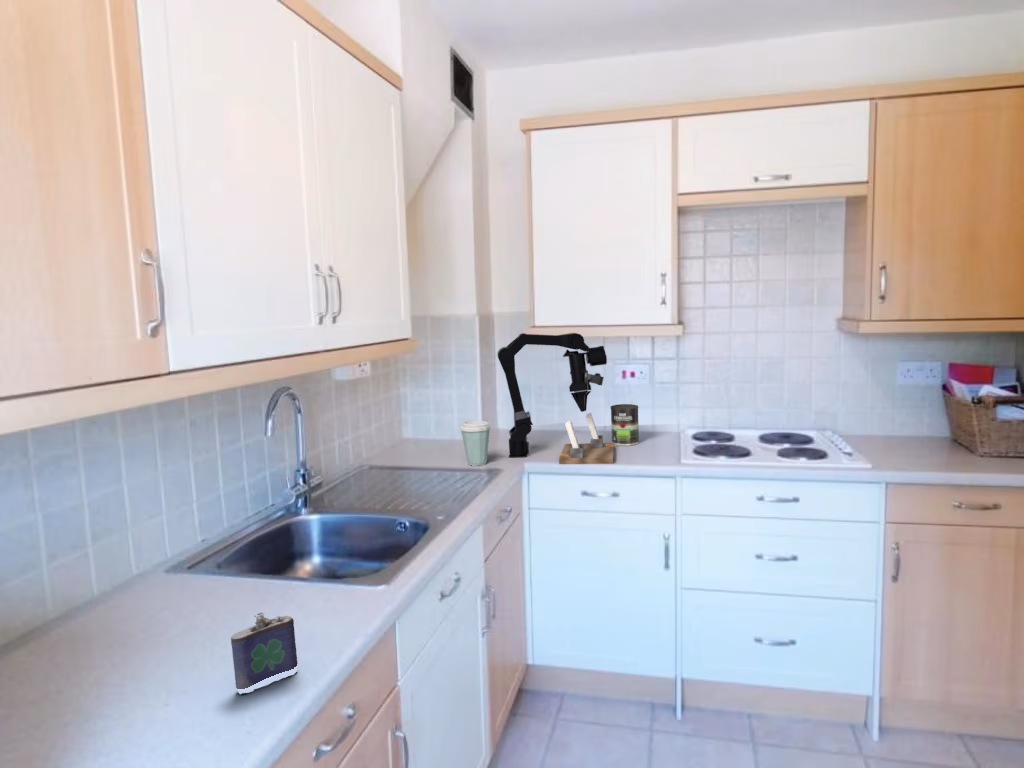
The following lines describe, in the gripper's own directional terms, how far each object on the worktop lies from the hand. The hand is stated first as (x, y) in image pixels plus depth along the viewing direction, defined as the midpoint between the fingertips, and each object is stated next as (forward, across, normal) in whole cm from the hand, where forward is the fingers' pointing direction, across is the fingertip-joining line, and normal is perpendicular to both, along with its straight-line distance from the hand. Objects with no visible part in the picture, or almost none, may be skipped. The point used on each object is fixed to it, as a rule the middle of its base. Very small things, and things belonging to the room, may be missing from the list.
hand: (583, 411), depth 233 cm
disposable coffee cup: (+14, -13, +38) cm, 42 cm away
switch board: (+16, -2, 0) cm, 16 cm away
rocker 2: (+13, +4, -3) cm, 14 cm away
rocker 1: (+14, -10, +3) cm, 17 cm away
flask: (+33, -142, +41) cm, 152 cm away
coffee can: (+14, +18, -13) cm, 26 cm away
